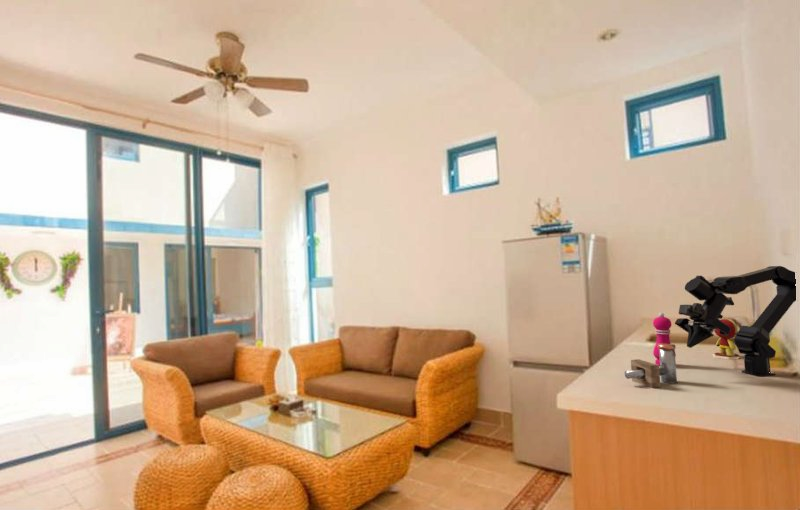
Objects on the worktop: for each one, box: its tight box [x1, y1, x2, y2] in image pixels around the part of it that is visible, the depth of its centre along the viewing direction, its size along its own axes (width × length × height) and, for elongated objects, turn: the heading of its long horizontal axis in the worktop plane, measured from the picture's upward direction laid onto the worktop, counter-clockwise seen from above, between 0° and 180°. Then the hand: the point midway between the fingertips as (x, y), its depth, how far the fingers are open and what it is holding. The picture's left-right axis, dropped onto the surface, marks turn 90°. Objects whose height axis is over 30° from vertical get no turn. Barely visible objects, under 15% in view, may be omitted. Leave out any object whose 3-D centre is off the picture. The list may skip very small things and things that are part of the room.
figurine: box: [712, 318, 741, 360], centre depth 168 cm, size 9×10×15 cm
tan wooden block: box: [630, 358, 661, 389], centre depth 137 cm, size 3×9×7 cm, turn 8°
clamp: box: [624, 343, 678, 384], centre depth 137 cm, size 18×5×12 cm, turn 98°
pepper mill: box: [652, 312, 677, 367], centre depth 159 cm, size 7×7×20 cm
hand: (688, 346), depth 140 cm, fingers closed
